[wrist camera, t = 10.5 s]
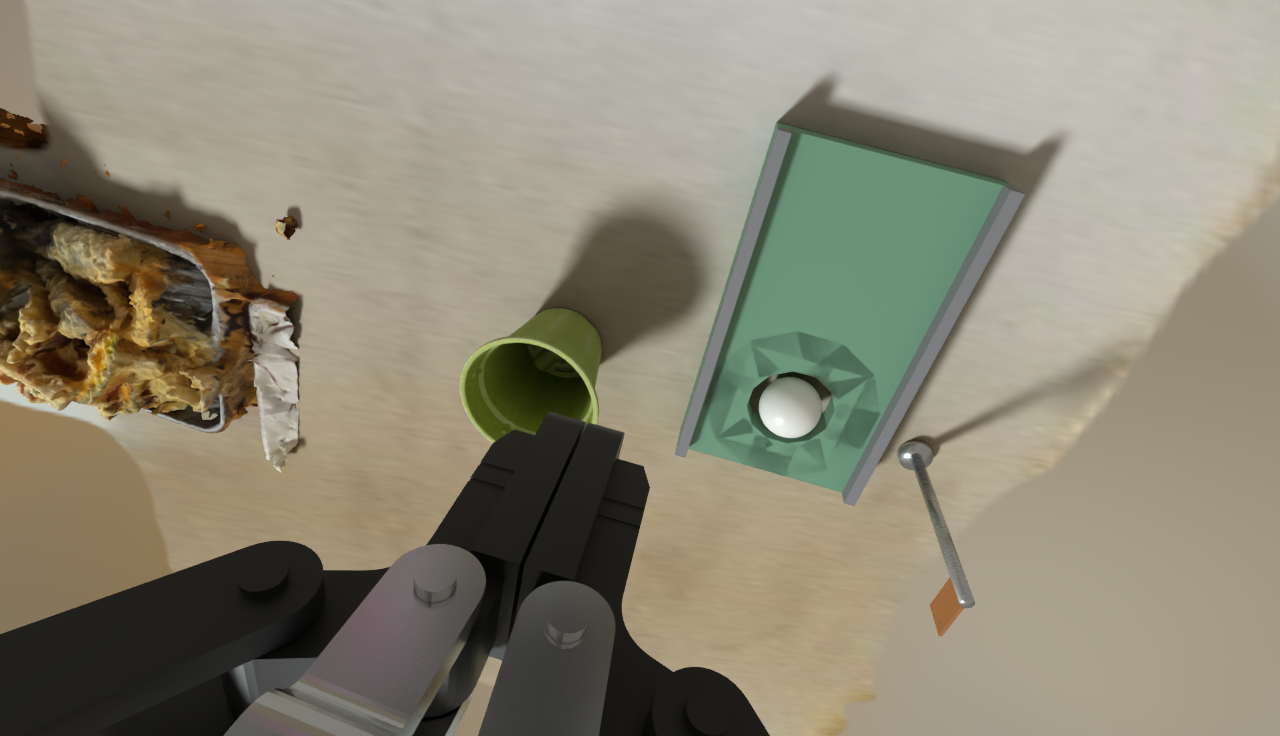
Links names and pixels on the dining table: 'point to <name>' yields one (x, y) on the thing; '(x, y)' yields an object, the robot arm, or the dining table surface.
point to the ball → (790, 407)
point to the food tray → (137, 313)
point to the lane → (841, 300)
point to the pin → (956, 588)
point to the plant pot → (533, 375)
